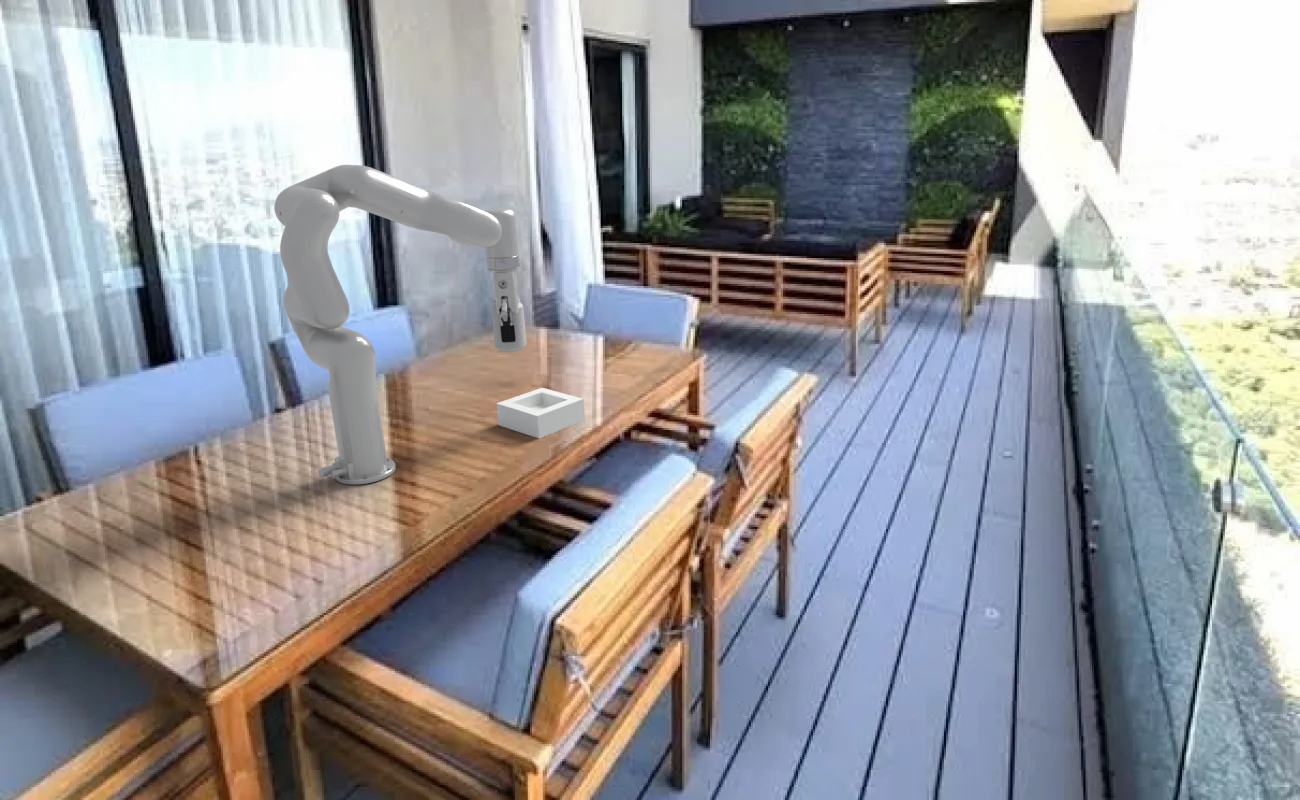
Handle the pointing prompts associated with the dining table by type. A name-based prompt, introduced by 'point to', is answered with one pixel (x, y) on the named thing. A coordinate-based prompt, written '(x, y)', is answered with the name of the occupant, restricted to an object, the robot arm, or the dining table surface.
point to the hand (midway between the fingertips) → (510, 336)
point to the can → (519, 330)
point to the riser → (540, 412)
